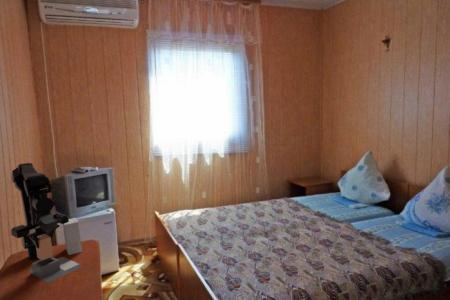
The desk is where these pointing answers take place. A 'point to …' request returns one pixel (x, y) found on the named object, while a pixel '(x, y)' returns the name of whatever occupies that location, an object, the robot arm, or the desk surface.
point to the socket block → (53, 268)
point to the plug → (44, 247)
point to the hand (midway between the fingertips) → (43, 246)
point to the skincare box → (72, 236)
